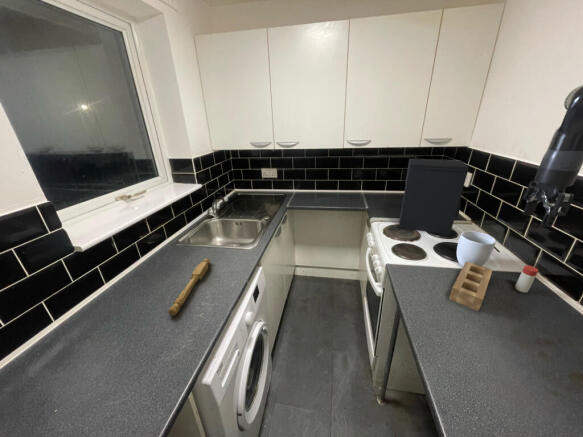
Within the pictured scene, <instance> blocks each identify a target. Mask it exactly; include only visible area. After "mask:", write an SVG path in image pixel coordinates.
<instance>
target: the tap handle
mask: <svg viewBox="0 0 583 437" xmlns="http://www.w3.org/2000/svg"><path fill="white" fill-rule="evenodd" d="M210 263H211V260H210V259H209V258H204V259H203V260H202V261H200V262H199V263H198V264H197V266H196V267H195V268H194V269H193V271H192V272H191V277H190V281H189V282H188V283H187V285H185V287H184V288H183V289H182V291H181V292H180V293H179V295H178V296H177V298H176V299H175V301H173V304H172V305H171V306H170V308H169V309H168V311H167V313H168V314H169V315H170V316H176V315H177V314H178V312H179V311H180V308H182V307H183V305H184V303H185V302H186V300H187V299H188V297H189V295H190V293H191V292H192V290H193V288H194V287H195V285H196V283H198V281H201V280H202V279H203V278H204V276H205V275H206V273H207V271H208V269H209V264H210Z"/></svg>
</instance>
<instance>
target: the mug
mask: <svg viewBox="0 0 583 437" xmlns="http://www.w3.org/2000/svg"><path fill="white" fill-rule="evenodd" d="M496 243H497V240H496V239H495V237H493V236H491V234H490V235H489V234H487V233H483V232H481V231H476V230H465V231H462V232H461V233H460V236H459V239H458V242H457V246H456V259H457V262H458V263H459V265H460V266H462V267H463V266H464V264H465V262H466V261H467V262H470V263H473V264H476V265H480V266H483V267H484V265H486V263H487V262H488V261H489V259H490V257H491V256H492V254H493V251H494V249H495V245H496Z"/></svg>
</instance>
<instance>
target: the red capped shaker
mask: <svg viewBox="0 0 583 437" xmlns="http://www.w3.org/2000/svg"><path fill="white" fill-rule="evenodd" d="M538 273H539V269H538V268H537V267H535V266H532V265H524V266H523V268H522V270H521V273H520V275H519V277H518V279H517V281H516V284H515V286H514V288H515V289H516V291H518V292H521V293H528V292H529V291H530V288H531V287H532V285H533V283H534V280H536V276H537V275H538Z"/></svg>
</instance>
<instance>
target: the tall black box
mask: <svg viewBox="0 0 583 437" xmlns="http://www.w3.org/2000/svg"><path fill="white" fill-rule="evenodd" d="M468 172H469V166H468V165H467V164H466V163H464V162H463V161H462V160H454V159H451V160H450V159H445V158H444V159H443V158H441V159H423V158H422V159H421V158H419V157H418V158H417V157H416V158H409V159H408V166H407V171H406V176H405V187H404V192H403V198H402V204H401V210H400V211H399V219H398V222H399V223H398V228H399V229H405V230H413V231H420V232H426V233H433V234H434V233H435V234H441V235H448V236H450V235H451V233H452V229H453V227H454V226H453V225H454V222H455V219H456V218H459V216H460V210H461V197H462V194H463V190H464V186H465V183H466V179H467V176H468Z"/></svg>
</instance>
